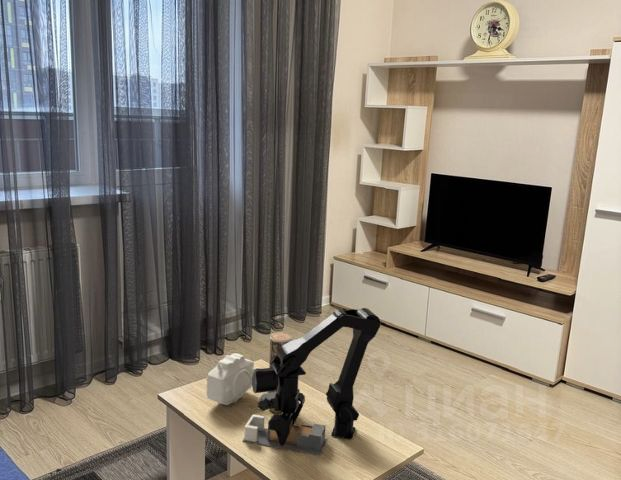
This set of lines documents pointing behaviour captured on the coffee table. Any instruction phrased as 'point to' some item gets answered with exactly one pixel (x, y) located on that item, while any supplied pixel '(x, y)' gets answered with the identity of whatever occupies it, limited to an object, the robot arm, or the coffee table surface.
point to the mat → (263, 441)
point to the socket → (253, 428)
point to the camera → (230, 379)
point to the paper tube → (275, 344)
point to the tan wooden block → (292, 435)
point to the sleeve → (312, 438)
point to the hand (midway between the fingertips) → (286, 436)
